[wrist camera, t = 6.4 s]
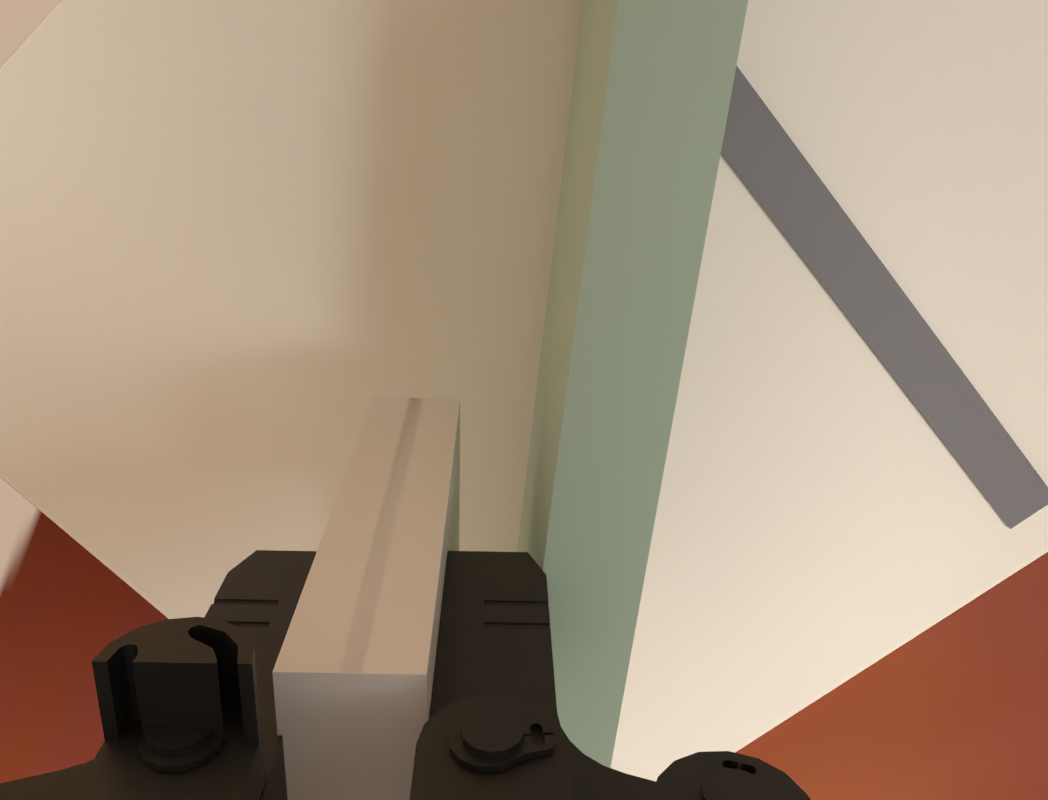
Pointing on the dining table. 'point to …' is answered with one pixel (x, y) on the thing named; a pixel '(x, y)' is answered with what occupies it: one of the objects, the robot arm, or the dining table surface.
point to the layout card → (538, 309)
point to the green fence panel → (620, 326)
